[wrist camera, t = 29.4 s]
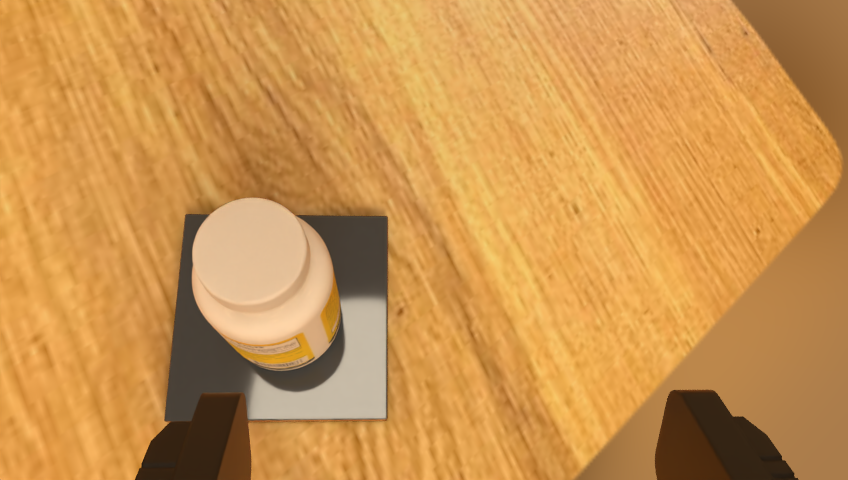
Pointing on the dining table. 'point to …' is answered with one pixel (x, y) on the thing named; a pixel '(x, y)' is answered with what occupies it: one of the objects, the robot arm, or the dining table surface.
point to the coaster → (319, 380)
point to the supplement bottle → (266, 283)
